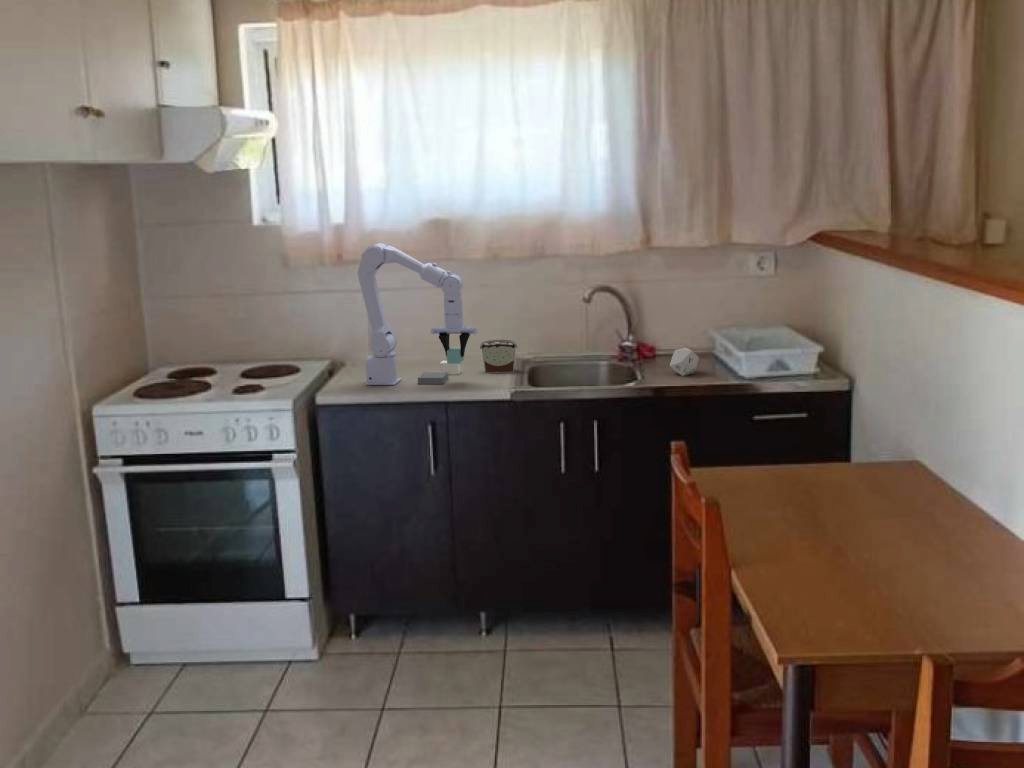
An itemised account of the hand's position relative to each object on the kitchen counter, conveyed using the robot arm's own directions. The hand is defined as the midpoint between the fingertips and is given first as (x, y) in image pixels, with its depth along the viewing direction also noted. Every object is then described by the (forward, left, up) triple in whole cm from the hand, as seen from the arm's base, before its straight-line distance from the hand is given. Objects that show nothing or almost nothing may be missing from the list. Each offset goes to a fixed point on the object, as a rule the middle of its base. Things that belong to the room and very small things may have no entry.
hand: (455, 356), depth 320 cm
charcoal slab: (-8, +2, -9) cm, 12 cm away
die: (+71, +14, -9) cm, 73 cm away
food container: (+11, +18, -9) cm, 23 cm away
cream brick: (-5, +14, -9) cm, 17 cm away
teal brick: (0, 0, -2) cm, 2 cm away
